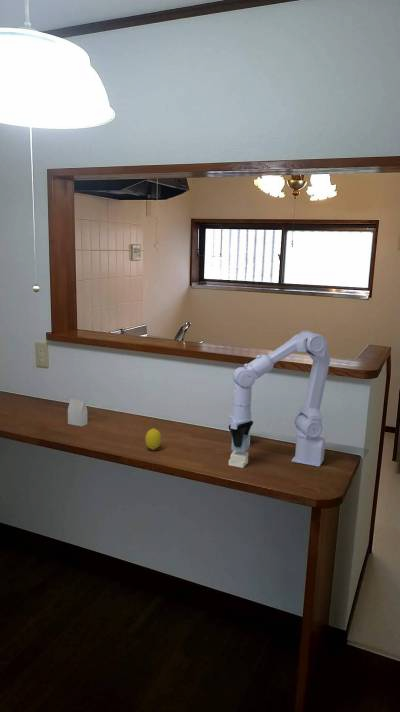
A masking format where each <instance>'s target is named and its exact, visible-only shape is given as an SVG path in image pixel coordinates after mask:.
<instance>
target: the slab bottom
mask: <svg viewBox="0 0 400 712" xmlns="http://www.w3.org/2000/svg"><path fill="white" fill-rule="evenodd" d="M248 463H249V458H248V459H247V461H246V463H241V462H233V461H230V459H228V466H231V467H237V468H242V469H243V468H244V467H245V466H247V464H248Z"/></svg>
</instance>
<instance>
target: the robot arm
mask: <svg viewBox="0 0 400 712" xmlns="http://www.w3.org/2000/svg"><path fill="white" fill-rule="evenodd" d="M328 344H329V342H328V341H327V340H326V337H324V336H323V335H322V334H319V333H314V332H312V331H310V330H302V331H300V332H299V333H297V334H295V335H293V336H292V337H291V338H290V339H289V340H288V341H286V342H285V343H283V344H282V345H280V346H279V347H277V348H276V349H274V350H273V351H272V352H271V353H268V354H258V355H256V356H255V358H254V359H253V360H252V361H250V362H249V363H245V364H243V366H240V367H237V368H235V370H234V372H233V373H232V375H231V377H232V378H231V379H232V381H233V382H234V386H233V387H234V388H233V401H232V403H233V406H232V408H233V409H232V414H230V415H229V417H228V418H229V419H231V422H230V424H229V425H228V429H229V432H230V434H231V438H232V437H233V443H234V446H235V447H241V445H242V440H243V435H244V434H245V435H248V434H249V430H250V431H251V428H252V426H253V424H254V421H253V420H252V412H251V410H252V409H251V407H252V396H253V395H252V392H253V391H252V389H253V387H252V386H254V384H255V383H256V382H255V381H256V380H258V379H260V378H261V377H263V376H264V375H265V374H267V373H269V372H270V371H272V370H273V369H274V365H275V364H277V362H280V361H281V360H283V359H285V358H286V357H289V356H290V355H292V354H293V353H307V355H309V357H310V359H312V364H311V368H310V369H311V370H310V373H309V374H310V375H309V378H308V379H309V380H308V383H307V388H306V394H305V398H304V401H303V405H302V407H300V408H299V411H298V414H297V415H296V416H295V418H294V427H295V428H296V429H297V430H296V438H295V439H296V440H295V441H296V442H295V454H294V456H293V458H292V459H291V462H292V463H298V464H304V465H309V466H312V467H313V466H315V467H321V465H322V463H323V461H324V458H325V448H326V447H325V446H326V438H324V437H321V436H320V435H321V434H322V433H323V424H322V420H323V416H322V414H321V409H320V408H321V404H322V399H323V397H324V396H323V395H324V390H325V386H326V380H327V378H328V377H327V376H328V372H329V367H330V363H331V355H330V351H329V348H328Z"/></svg>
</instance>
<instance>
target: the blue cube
mask: <svg viewBox="0 0 400 712" xmlns="http://www.w3.org/2000/svg"><path fill="white" fill-rule="evenodd" d="M249 448H250V446H249V435H245V434H244V435H243V440H242V445H241V447H235V446H234V443H233V437H232V436H231V451H239V452H247V451H248V450H249Z"/></svg>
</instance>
